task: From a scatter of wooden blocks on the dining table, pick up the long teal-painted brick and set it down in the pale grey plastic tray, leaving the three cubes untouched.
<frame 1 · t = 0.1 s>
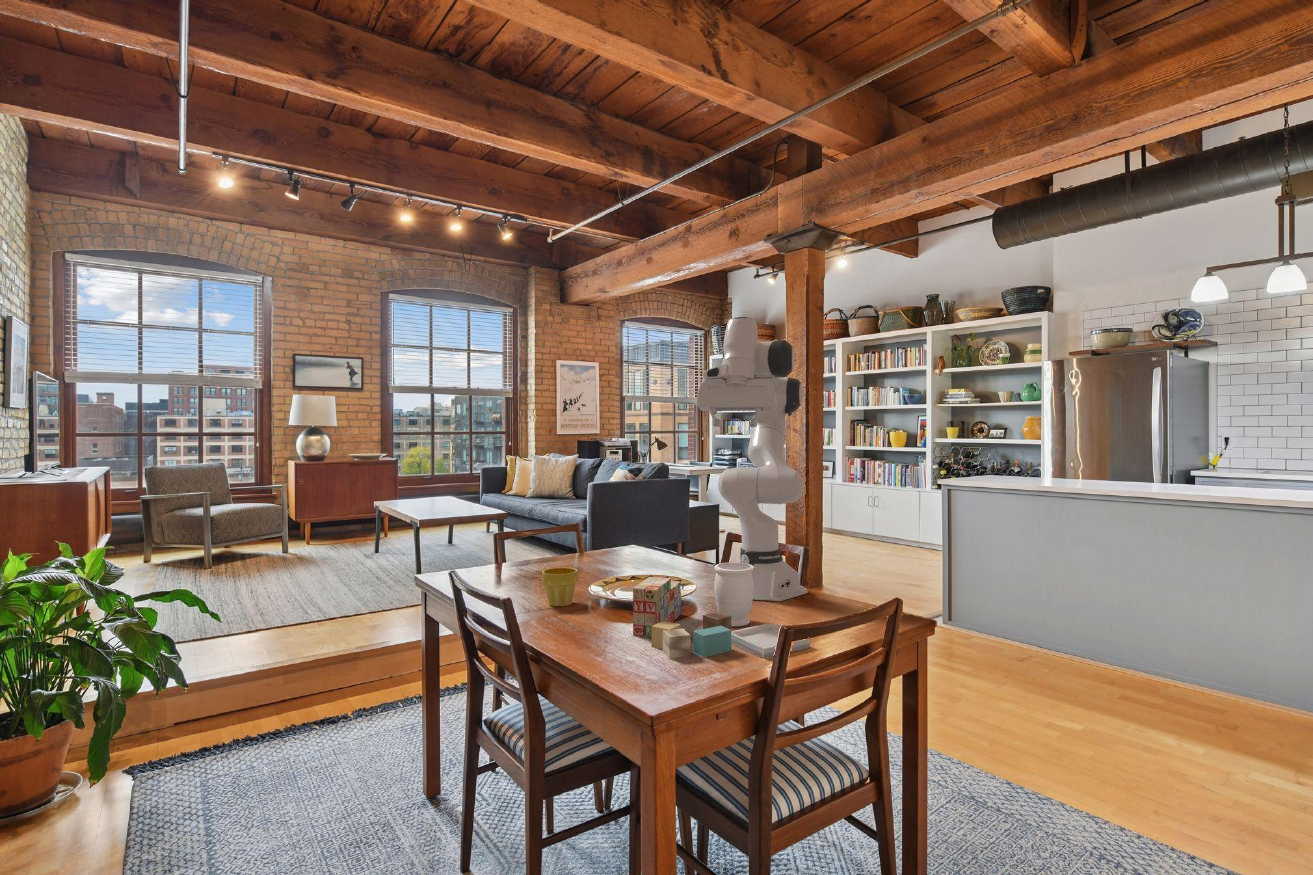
hand: (734, 426, 169), 52 cm above the table, tool tilted 20°, fingers open, 8 cm apart
walnut cube: (717, 635, 168), on the table
stack of blocks: (658, 625, 177), on the table
jar: (734, 623, 178), on the table
plant pot: (560, 604, 197), on the table
teal brick: (712, 651, 156), on the table
maple cube: (676, 654, 155), on the table
ochre cube: (666, 645, 160), on the table
tray: (767, 644, 161), on the table
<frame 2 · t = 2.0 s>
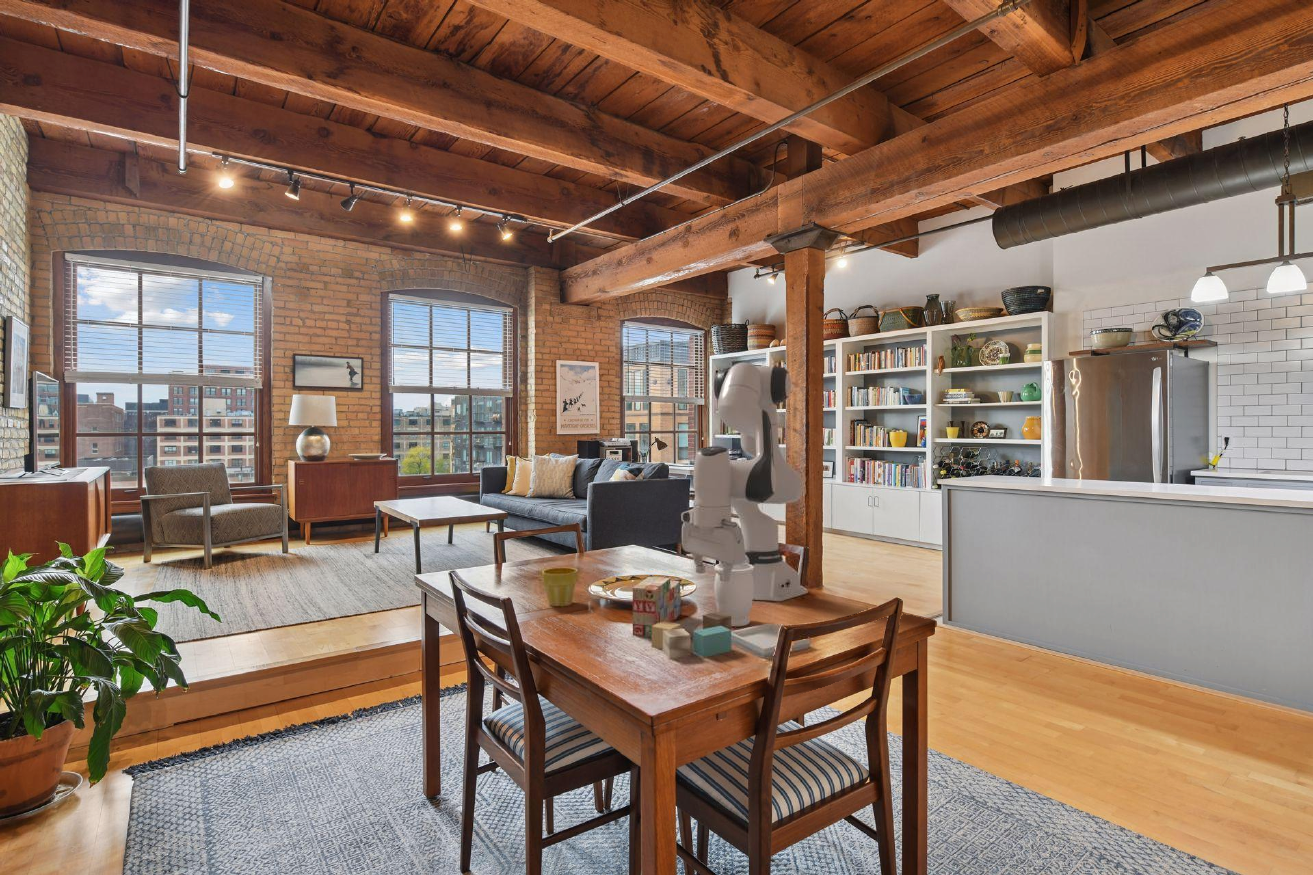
hand: (712, 576, 156), 17 cm above the table, tool pointing down, fingers open, 8 cm apart
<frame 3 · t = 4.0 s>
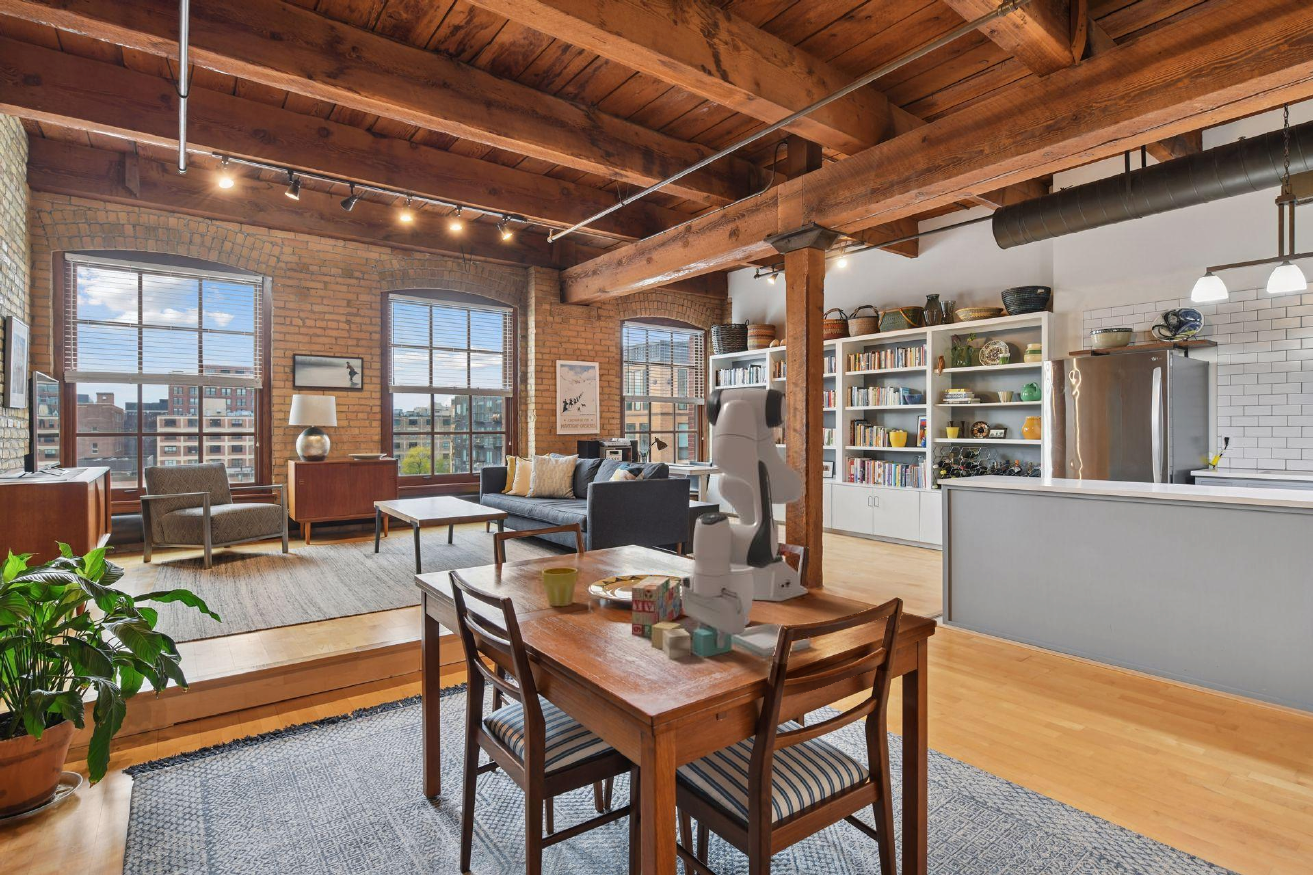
hand: (712, 643, 156), 2 cm above the table, tool pointing down, fingers closed on teal brick, 4 cm apart
teal brick: (712, 651, 156), on the table, touching gripper
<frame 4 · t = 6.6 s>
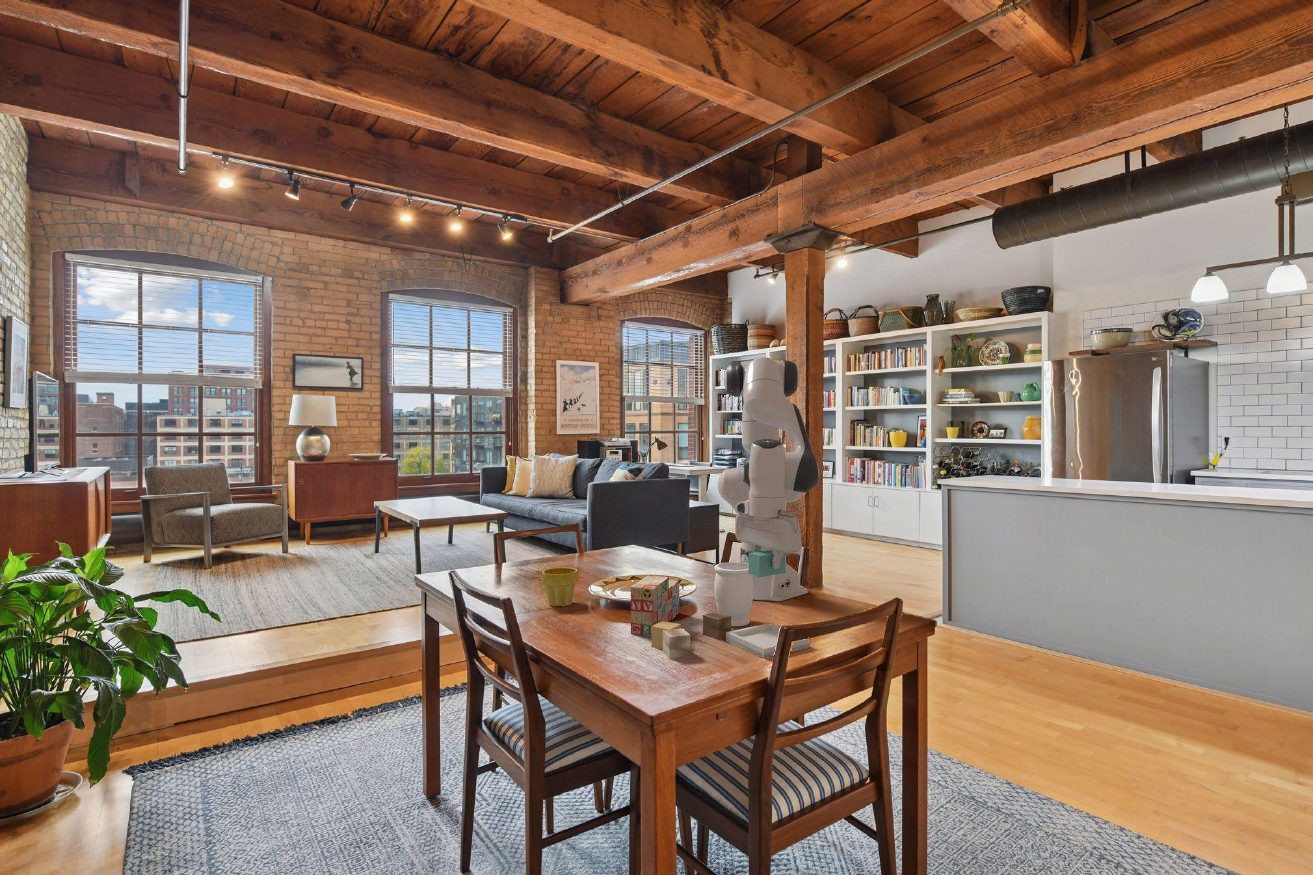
hand: (767, 565, 161), 19 cm above the table, tool pointing down, fingers closed on teal brick, 4 cm apart
teal brick: (767, 573, 161), point 17 cm above the table, touching gripper
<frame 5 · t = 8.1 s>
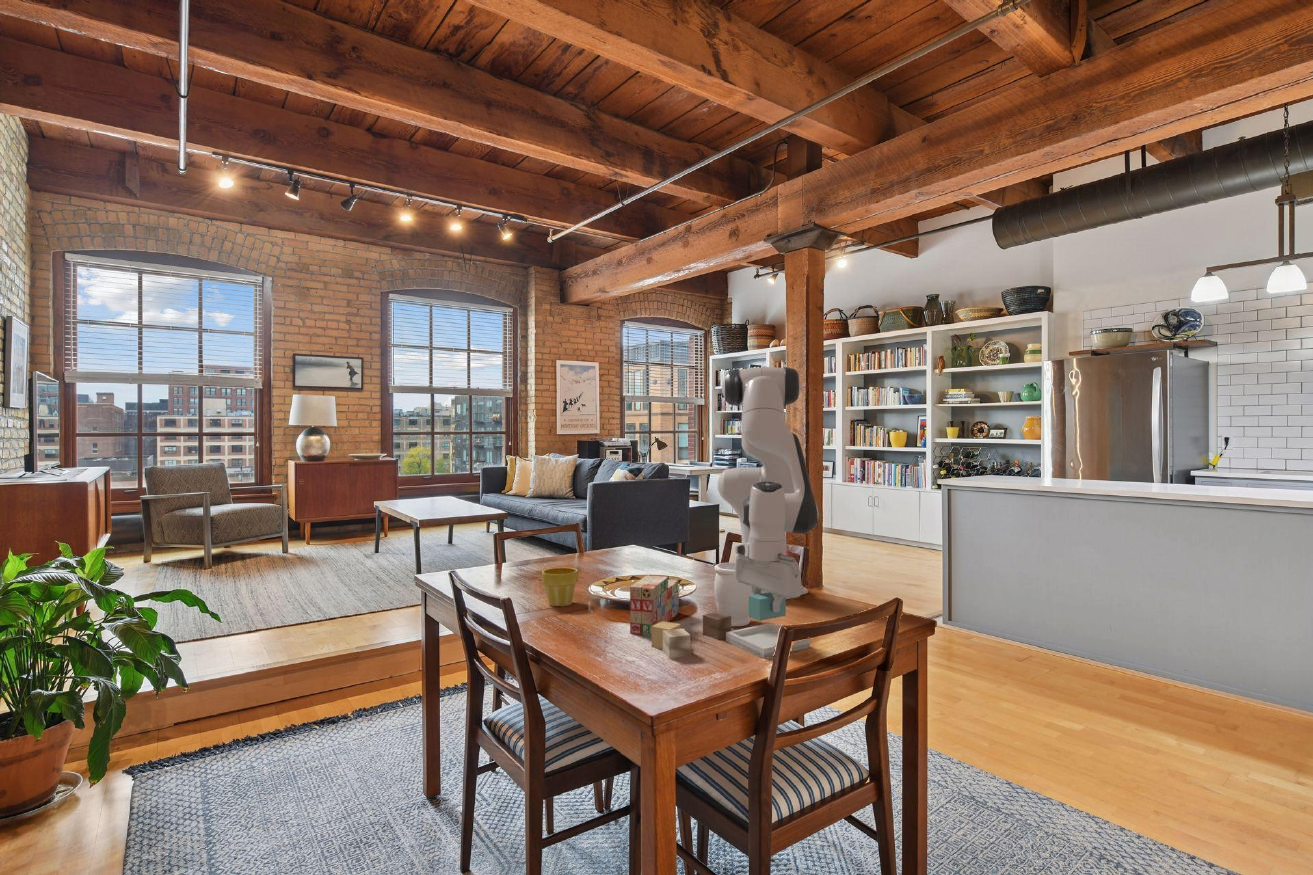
hand: (767, 608, 161), 9 cm above the table, tool pointing down, fingers closed on teal brick, 4 cm apart
teal brick: (767, 616, 161), point 7 cm above the table, touching gripper
when the fingers open (4 cm above the table, at t = 9.2 s): teal brick drops 1 cm, resting on tray.
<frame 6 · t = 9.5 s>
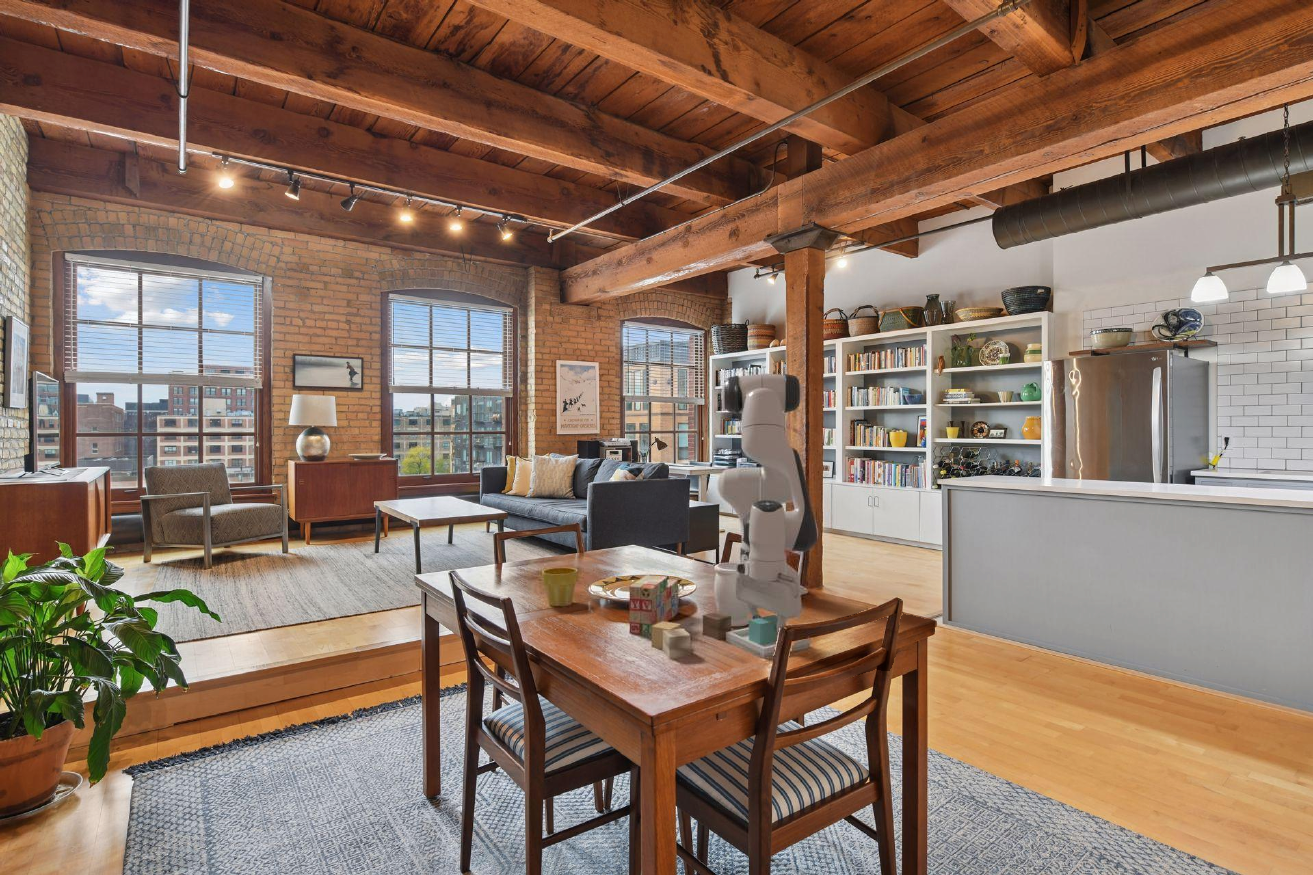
hand: (767, 627, 161), 4 cm above the table, tool pointing down, fingers open, 7 cm apart
teal brick: (767, 640, 161), point 1 cm above the table, touching tray
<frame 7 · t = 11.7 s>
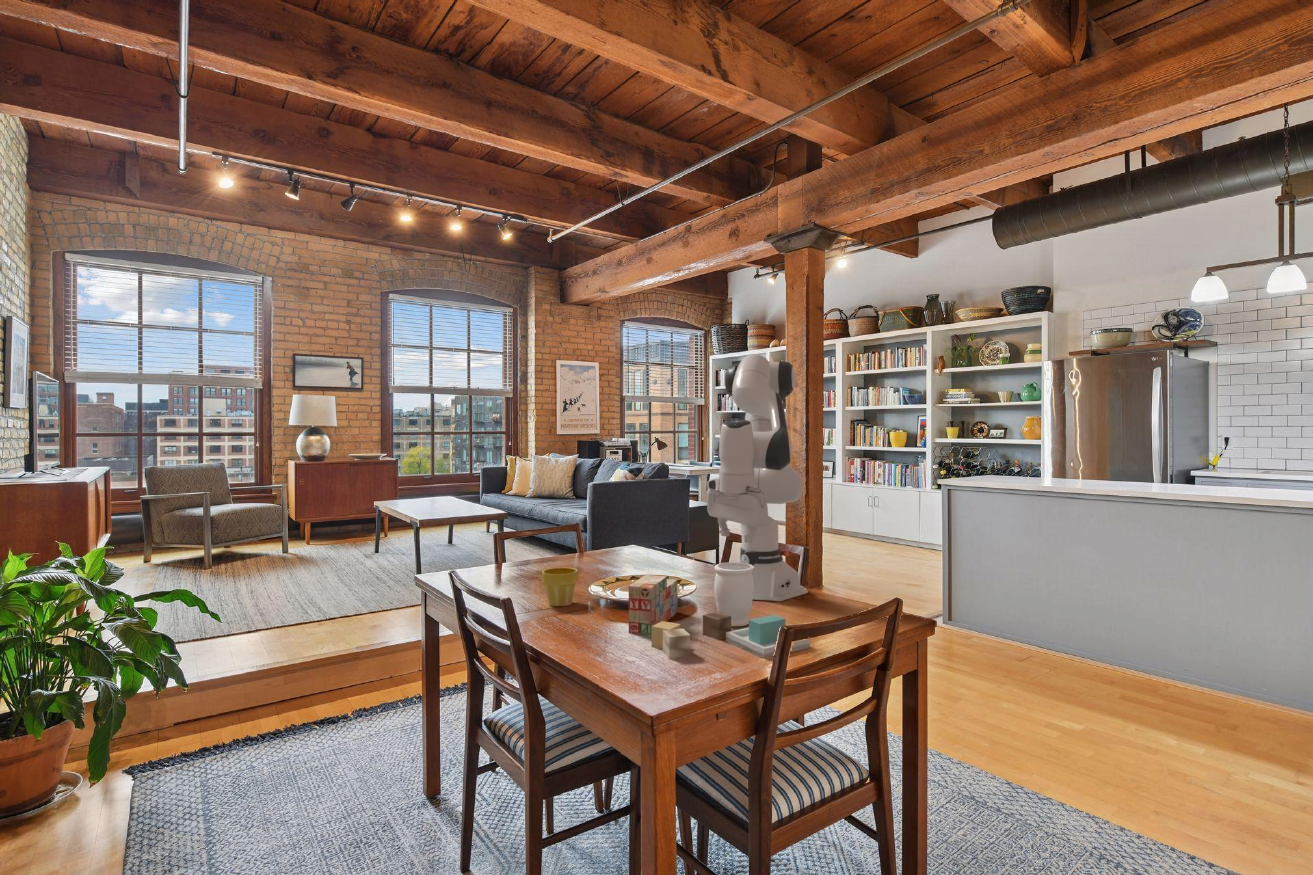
hand: (736, 539, 170), 24 cm above the table, tool pointing down, fingers open, 8 cm apart
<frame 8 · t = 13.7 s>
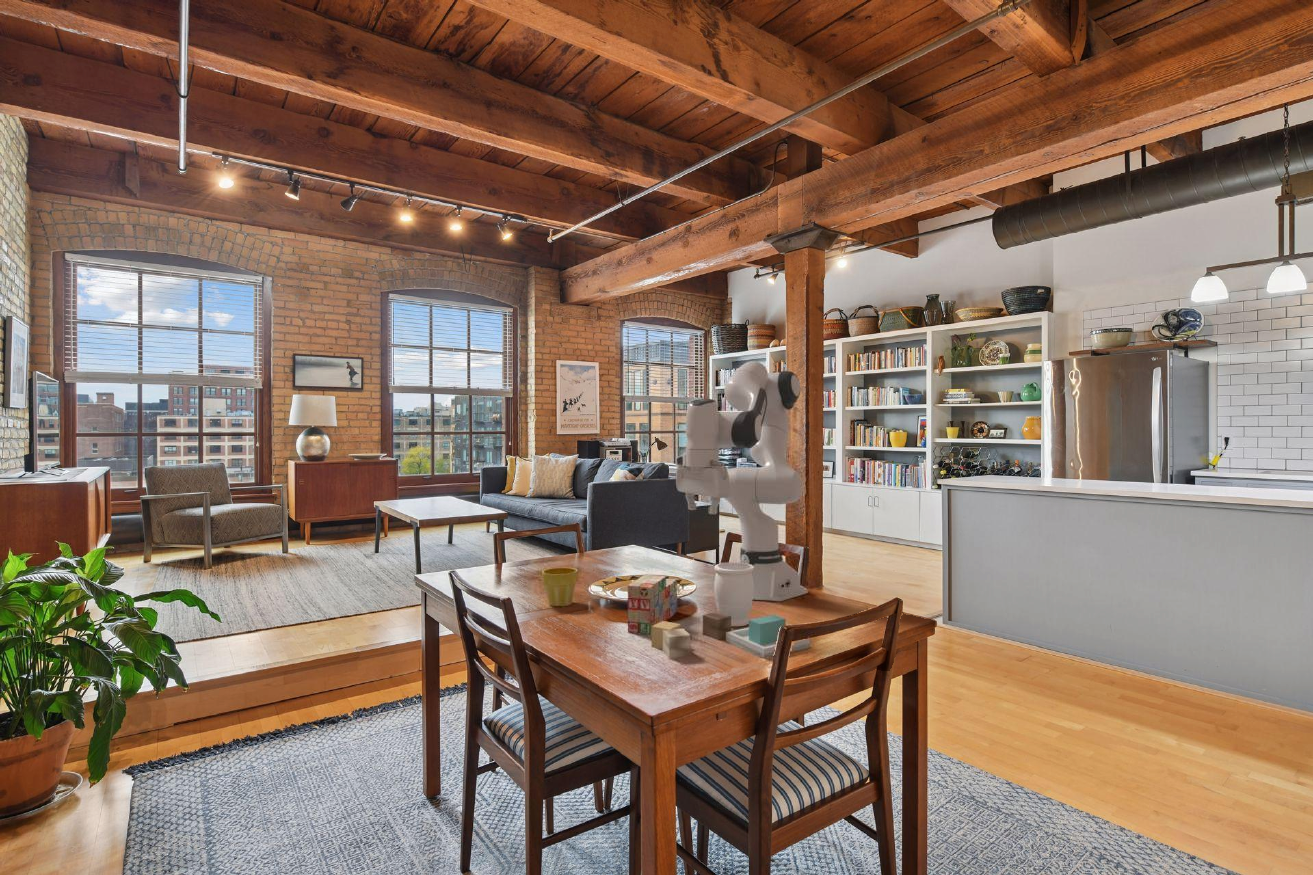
hand: (702, 511, 180), 29 cm above the table, tool pointing down, fingers open, 8 cm apart
at the end: teal brick inside the target area on the tray (0.0 cm from its centre), point 1.0 cm above the tray's base; the gripper is holding nothing; maple cube moved 0.1 cm from its start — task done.
